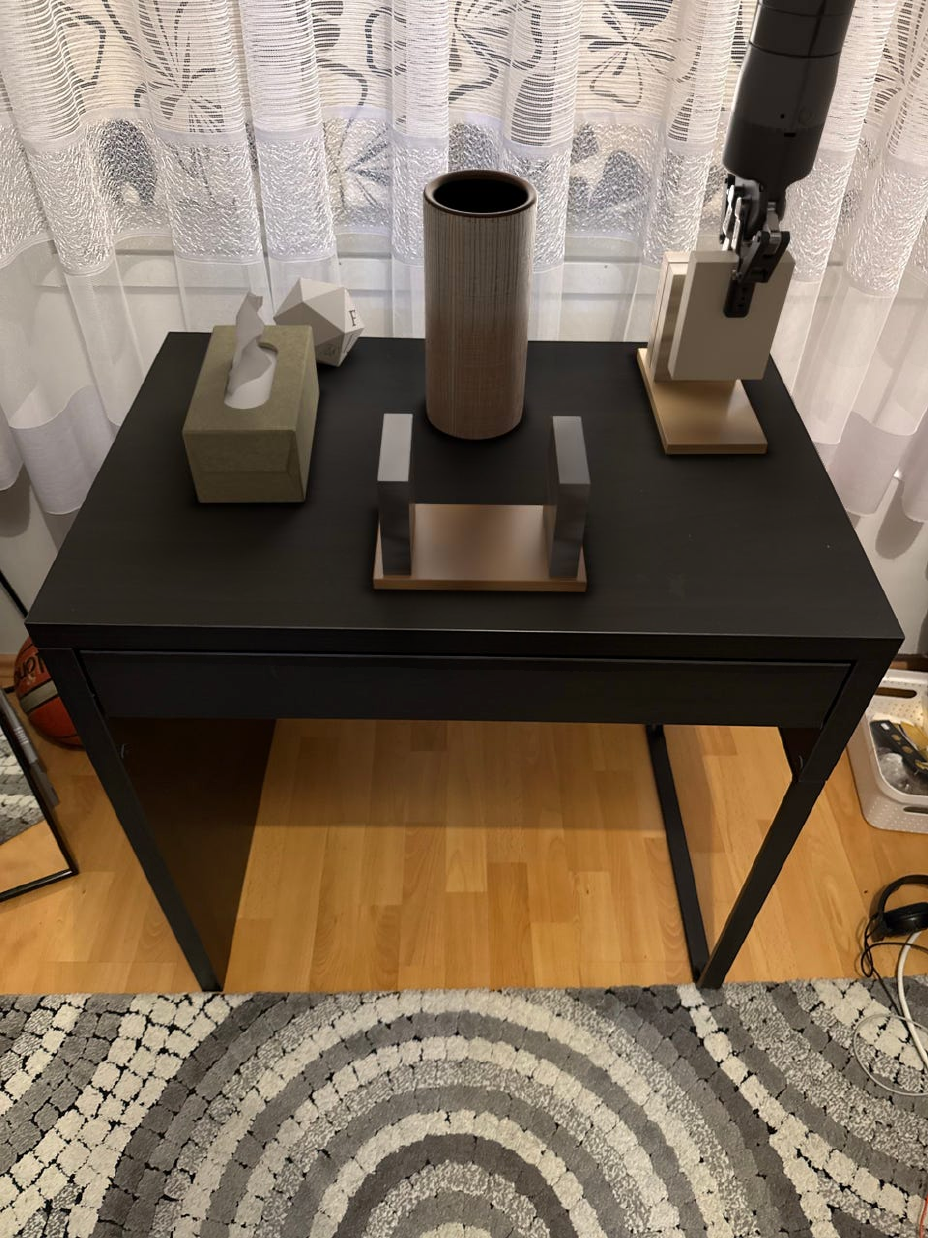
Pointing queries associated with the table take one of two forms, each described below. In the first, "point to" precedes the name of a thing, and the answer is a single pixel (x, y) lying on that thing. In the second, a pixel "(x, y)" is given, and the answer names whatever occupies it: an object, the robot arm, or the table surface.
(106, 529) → the table surface
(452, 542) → the grey book rack
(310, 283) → the die
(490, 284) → the planter
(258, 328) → the tissue box
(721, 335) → the cream book
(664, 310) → the cream book rack
